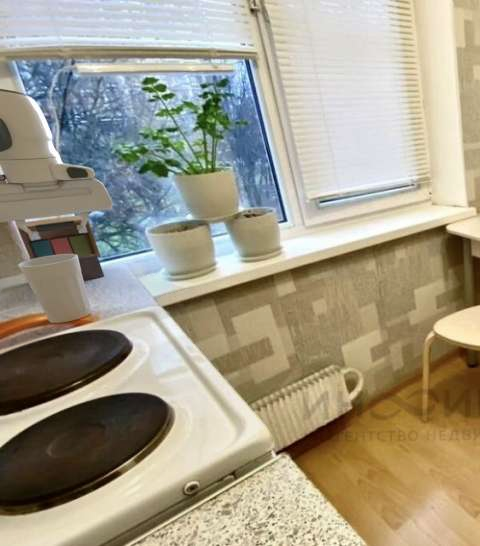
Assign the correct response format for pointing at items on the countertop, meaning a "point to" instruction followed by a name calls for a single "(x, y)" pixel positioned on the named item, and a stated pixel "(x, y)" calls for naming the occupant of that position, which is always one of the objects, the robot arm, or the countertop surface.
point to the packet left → (41, 248)
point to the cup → (58, 286)
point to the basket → (57, 233)
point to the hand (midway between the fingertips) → (60, 236)
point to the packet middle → (61, 245)
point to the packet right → (79, 245)
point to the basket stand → (90, 267)
